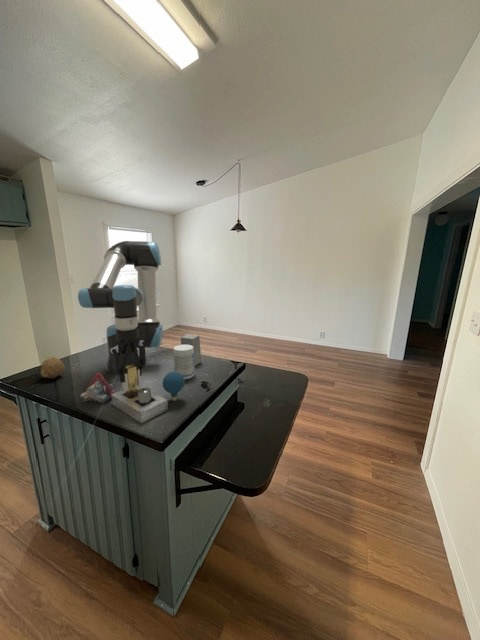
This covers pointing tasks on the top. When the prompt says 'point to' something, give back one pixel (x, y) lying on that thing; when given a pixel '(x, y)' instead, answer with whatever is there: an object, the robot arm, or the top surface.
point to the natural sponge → (52, 367)
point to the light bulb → (173, 383)
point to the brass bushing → (132, 381)
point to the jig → (140, 404)
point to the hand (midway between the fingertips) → (131, 386)
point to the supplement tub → (184, 360)
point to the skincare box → (195, 343)
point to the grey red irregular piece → (98, 390)
